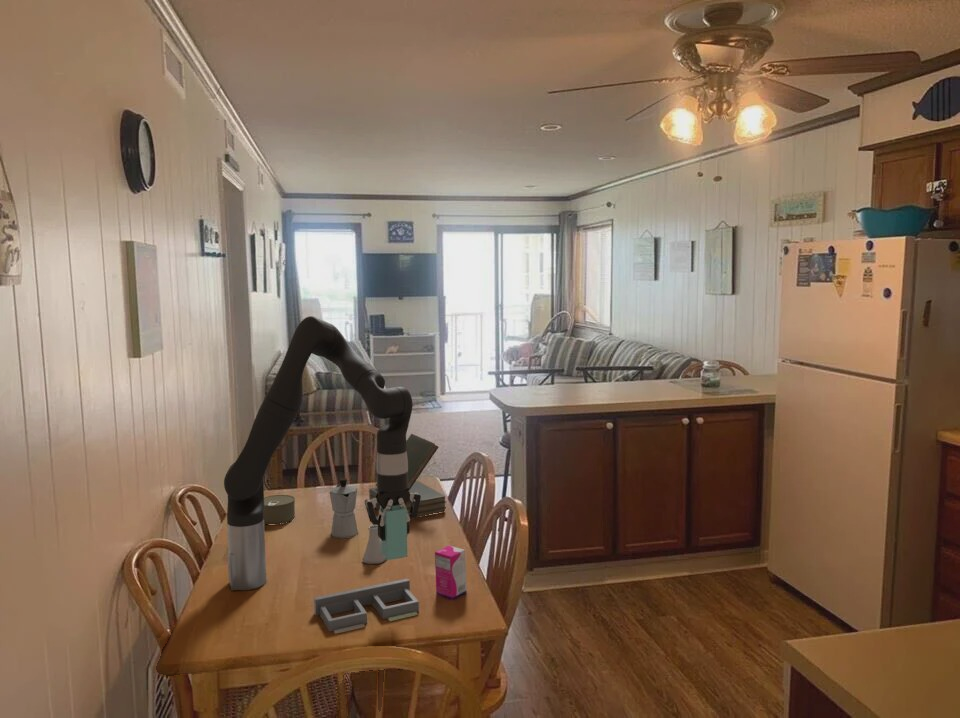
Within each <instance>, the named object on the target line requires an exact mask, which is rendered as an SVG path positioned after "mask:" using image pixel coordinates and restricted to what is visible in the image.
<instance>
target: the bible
mask: <svg viewBox="0 0 960 718" xmlns="http://www.w3.org/2000/svg"><path fill="white" fill-rule="evenodd" d="M438 449H439V446H438V445H436V443H434V442H432V441H429V440H428V439H425V438H422V437H420V436H418V435H416V434H413V433H411V434H410V435H409V436H408V438H406V451H407V458H408V490H409V492H410V493H414V492H417V493H418V494H419V495H420V496H421V498H420V503H419V508H418V513H417V517H419V518H421V517H420V516H424V517H426V516H425V515H429V514H433V513H439V512H444V511H445V512H446V508H447V506H446V503H447V501H446V495H444V494H443V493H441V492H439V491H437V490H436V489H433V488H431V486H428V485H426V484H424V483H423V482H421V481H419V480H418V479H419V478H420V475H421V474H422V473H423V471H424V469H425V468H426V467H427V465H428V464H429V462H430V461H431V459H432V458H433V456H434V454H435V453H436V452H437V450H438ZM376 495H377V483H376V484H375V487H371V488H370V487H369V488H368V497H369V500H371V499H373V498H375V497H376ZM410 505H411V500H410V497H409V499H408V501H407V502H406V504H405V506H406V509H407V511H408V513H409V510H410ZM375 508H376V509H375ZM375 508H374V509H375V510H377V511H378V510H380V505H379V503H378V502H377V503H376V507H375ZM429 516H430V515H429Z"/></svg>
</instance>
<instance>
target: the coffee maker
mask: <svg viewBox="0 0 960 718" xmlns="http://www.w3.org/2000/svg"><path fill="white" fill-rule="evenodd" d="M347 481H348V479H347V478H340V479H339V483H338V484H336V486H335V487H332V488H331V489H330V490H329V496H330V502H331V509H332V512H334V513H333V517H332V525H331V532H330V535H331V536H332V538H335V539H341V538H343V539H348V537H350V538H353V537H355V536H357V535H359V530H358V525H357V519H356V515H355V509H356V504H357V503H356V501H357V496H358V495H357V493H358V488H357V487H354V486H352V485H347ZM356 534H357V535H356Z"/></svg>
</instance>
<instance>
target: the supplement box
mask: <svg viewBox="0 0 960 718" xmlns="http://www.w3.org/2000/svg"><path fill="white" fill-rule="evenodd" d="M434 564H435V565H434V567H435V590H436V595H438V596H441V597H444V598H446V599H449V600H452V601H454V600H455V599H457V598H459V597H461V596H462V595H464V594H466V593H467V571H466V569H467V567H466V549H464V548H460V547H456V546H452V545H447V546H445V547H443V548H441V549H438V550H436V551H434Z"/></svg>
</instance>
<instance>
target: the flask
mask: <svg viewBox="0 0 960 718" xmlns="http://www.w3.org/2000/svg"><path fill="white" fill-rule="evenodd" d="M368 532H369V534H368V540H367V544H366V548H365V550H364V552H363V556H362V559H361V560H362V561H361V562H362V563H365V564H369V565H377V564H378V565H379V564H381V563H384V562H386V561H387V559H386V558H385V557H384V556H383V555H382V554H381V539H380V538H379V537H378V525H373V524H371V525H369V526H368Z"/></svg>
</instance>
